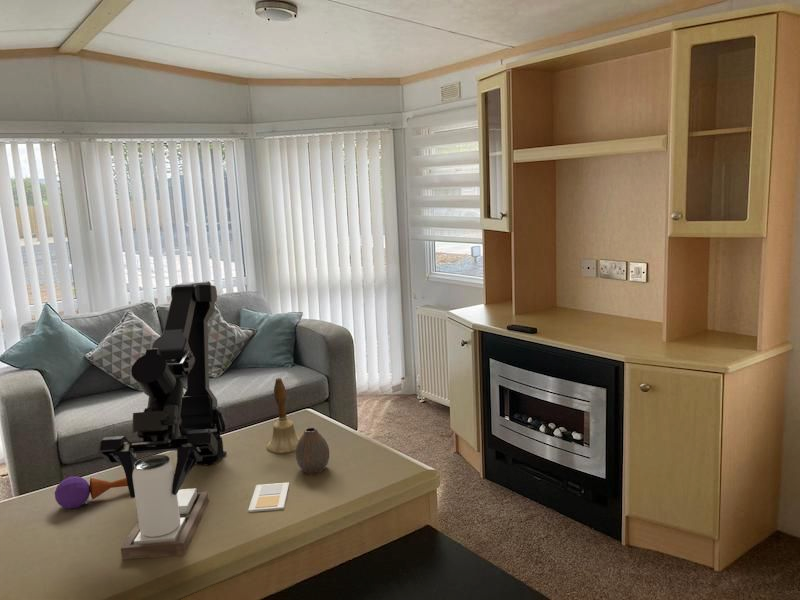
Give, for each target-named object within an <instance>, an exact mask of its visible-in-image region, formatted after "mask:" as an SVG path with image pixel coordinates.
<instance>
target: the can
mask: <svg viewBox="0 0 800 600" xmlns="http://www.w3.org/2000/svg"><path fill="white" fill-rule="evenodd" d="M137 460H138V461H137V462H135V464H134V471H133V474H132V477H133V485H134V493H135V498H134V499H135V505H136V513H137V519H138V521H139V527H140V532H141V533H142V534H143V535H144V536H146V537H151V538H155V537H161V536H165V535H168V534H170V533H172V532H173V531H175V530H176V529H177V528H178V526H179V525H180V515H181V514H179V506H178V498H177V494H176V495H173V493H172V489H173V480H174V475H175V469H174V465H173V464H172V462H171V459H170V457H169V456H168V455H164V454H153V455H148V456H145V457H142V458H140V459H137ZM138 521H137V522H138Z"/></svg>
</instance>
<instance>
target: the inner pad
mask: <svg viewBox="0 0 800 600" xmlns="http://www.w3.org/2000/svg"><path fill="white" fill-rule="evenodd" d="M197 491H198V490H197V488H184V489H183V488H182V489H181V488H180V489H179V491H178V493H177V498H178V506H179V514H180V515H187V514H189V513H190V511H191V509H192V506H193V503H194V501H195V499H196V497H197V493H198V492H197Z"/></svg>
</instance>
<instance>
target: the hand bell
mask: <svg viewBox="0 0 800 600" xmlns="http://www.w3.org/2000/svg"><path fill="white" fill-rule="evenodd" d="M273 394H274V395H273V396H274V399H275V402H276V404H277V409H278V411H277V412H278V421H276V422H274V424H273V426H272V428H273V429H272V436H271V439H270V441H269V442H268V443H267V444H266V450H267V451H269V452H270V453H273V454H287V453H292V452H296V446H297V443H298V441H299V440H300V438H301V437H299V436H298V434H297V432H296V429H295V426H294V422H293V421H292V420H289V419H288V418H287V412H286V400H287V392H286V386H285V383H284V382H283V379H282V378H281V377H278V378H275V384H274V387H273Z"/></svg>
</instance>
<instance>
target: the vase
mask: <svg viewBox="0 0 800 600" xmlns="http://www.w3.org/2000/svg"><path fill="white" fill-rule="evenodd" d="M299 438H300V440H299V441H298V443H297V446H296V451H295V459H296V463H297V465H298V468H299V469H301V470H302V471H303V472H304V473H306V474H309V475H310V474H318V473H320V472H322V471H323V470H325V468H326V467H327V466H328V463H329V460H330V448H329V444H328V442H327V440H326V439H325V438H324V437H323V436H322V435H321V434H320V433H319V431H318V429H317V428H316V427H307V428H305V429H304V430H303V434H302V436H301V437H299Z"/></svg>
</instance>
